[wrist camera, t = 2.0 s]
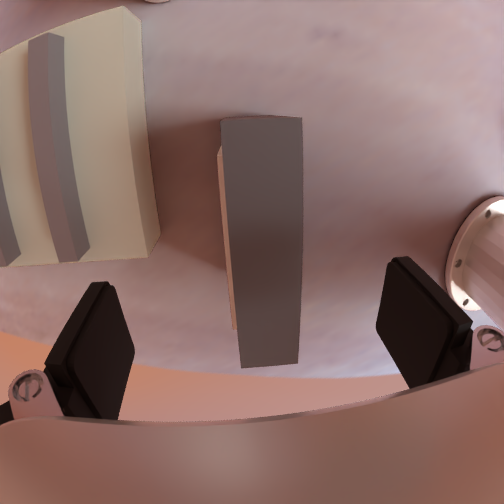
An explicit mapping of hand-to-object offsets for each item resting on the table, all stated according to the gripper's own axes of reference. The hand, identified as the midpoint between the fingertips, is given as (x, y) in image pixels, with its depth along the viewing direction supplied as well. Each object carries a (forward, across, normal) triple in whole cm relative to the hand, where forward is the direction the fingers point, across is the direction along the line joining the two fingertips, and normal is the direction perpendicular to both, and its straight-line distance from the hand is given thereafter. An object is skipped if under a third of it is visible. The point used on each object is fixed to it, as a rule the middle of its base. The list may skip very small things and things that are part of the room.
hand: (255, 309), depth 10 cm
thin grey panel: (+13, -1, 0) cm, 13 cm away
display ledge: (+14, +14, -6) cm, 20 cm away
